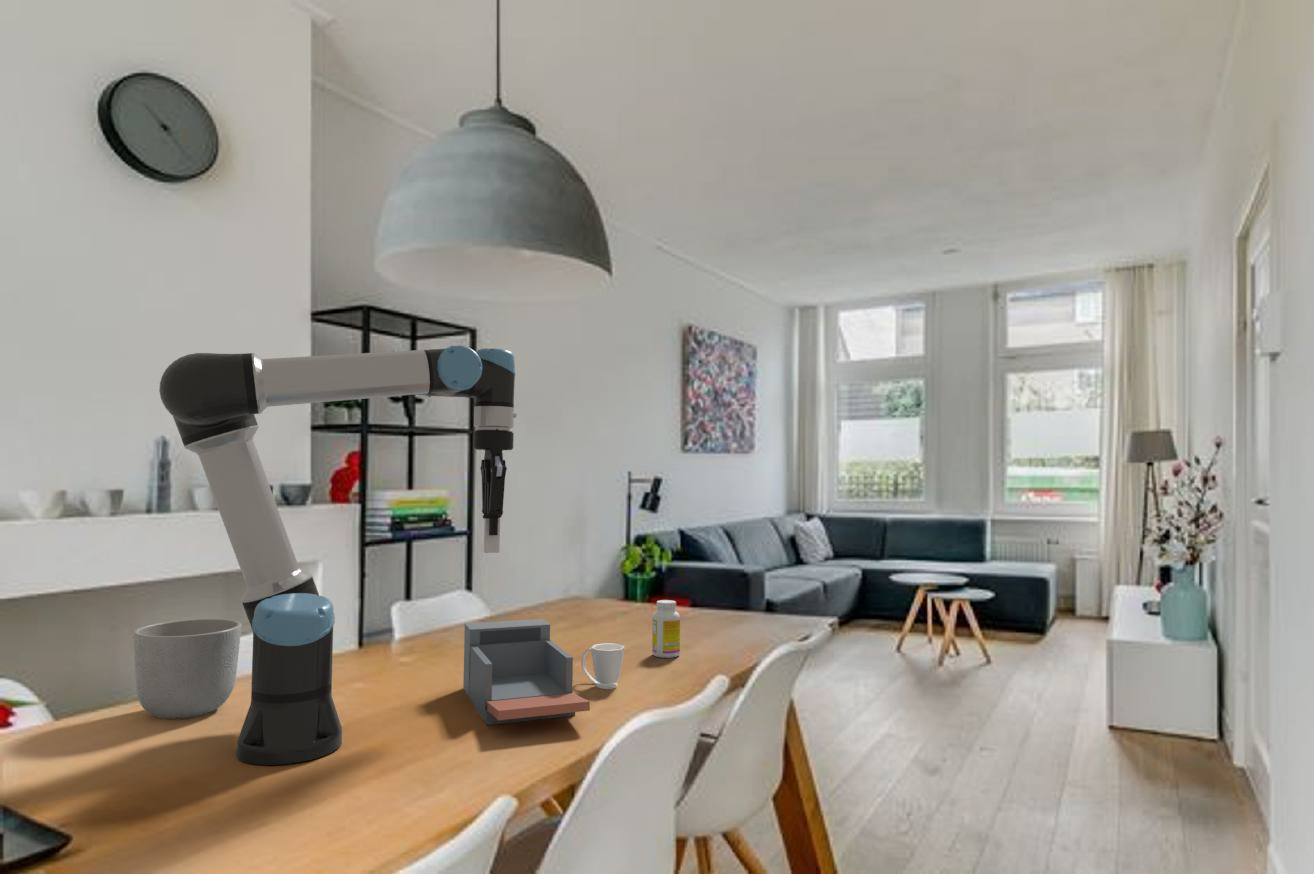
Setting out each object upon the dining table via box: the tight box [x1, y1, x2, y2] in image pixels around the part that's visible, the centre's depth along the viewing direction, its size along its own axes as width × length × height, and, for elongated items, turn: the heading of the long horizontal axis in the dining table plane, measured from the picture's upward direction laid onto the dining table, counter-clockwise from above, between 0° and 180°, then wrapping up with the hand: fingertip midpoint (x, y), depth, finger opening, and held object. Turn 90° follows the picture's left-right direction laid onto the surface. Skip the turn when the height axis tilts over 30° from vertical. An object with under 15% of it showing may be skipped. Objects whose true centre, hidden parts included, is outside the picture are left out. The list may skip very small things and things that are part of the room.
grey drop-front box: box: [468, 639, 576, 726], centre depth 153 cm, size 16×18×10 cm
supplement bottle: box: [651, 599, 681, 659], centre depth 195 cm, size 7×7×13 cm
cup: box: [581, 642, 625, 690], centre depth 168 cm, size 7×10×8 cm
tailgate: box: [486, 692, 591, 720], centre depth 141 cm, size 16×2×10 cm
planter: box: [132, 618, 243, 720], centre depth 147 cm, size 17×17×15 cm
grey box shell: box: [462, 618, 551, 698], centre depth 164 cm, size 16×7×13 cm, turn 112°
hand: (491, 552), depth 156 cm, fingers closed
